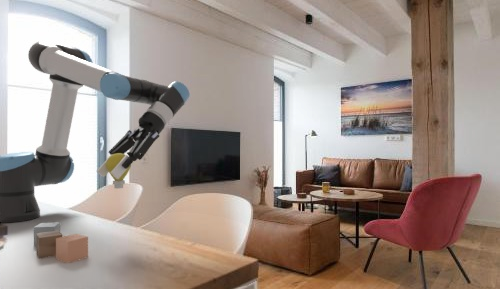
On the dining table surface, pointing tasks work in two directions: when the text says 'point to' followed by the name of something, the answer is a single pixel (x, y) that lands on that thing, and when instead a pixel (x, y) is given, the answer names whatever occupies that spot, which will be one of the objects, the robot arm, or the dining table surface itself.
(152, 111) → the robot arm
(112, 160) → the light bulb
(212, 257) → the dining table surface
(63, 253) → the terracotta block
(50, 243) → the walnut block
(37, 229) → the slate grey block
